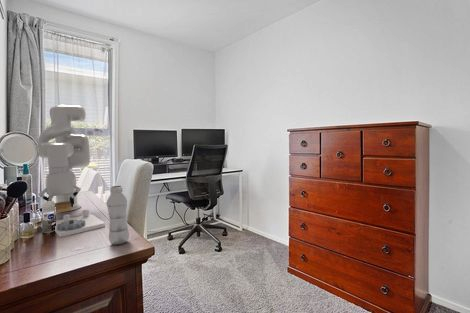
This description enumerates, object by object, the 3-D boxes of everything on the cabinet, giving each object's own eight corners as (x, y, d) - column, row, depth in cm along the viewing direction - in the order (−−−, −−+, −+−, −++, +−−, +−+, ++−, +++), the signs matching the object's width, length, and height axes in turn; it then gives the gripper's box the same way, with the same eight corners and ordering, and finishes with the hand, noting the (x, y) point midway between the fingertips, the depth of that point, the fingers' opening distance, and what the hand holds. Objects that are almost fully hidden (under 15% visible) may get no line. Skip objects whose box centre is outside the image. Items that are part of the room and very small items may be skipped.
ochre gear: (51, 209, 120) (50, 203, 119) (69, 206, 125) (68, 200, 124) (53, 213, 115) (53, 207, 114) (72, 210, 119) (72, 203, 119)
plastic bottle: (119, 248, 86) (116, 188, 84) (104, 245, 88) (101, 187, 87) (133, 240, 92) (130, 185, 91) (118, 238, 94) (116, 184, 93)
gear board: (50, 225, 112) (50, 215, 111) (91, 217, 123) (91, 207, 122) (59, 237, 97) (58, 225, 97) (104, 226, 108) (104, 216, 108)
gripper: (78, 167, 126) (81, 202, 128) (34, 171, 114) (37, 210, 116) (82, 169, 121) (84, 205, 123) (36, 173, 109) (39, 214, 111)
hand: (61, 207), depth 119 cm, fingers closed on ochre gear, 7 cm apart
